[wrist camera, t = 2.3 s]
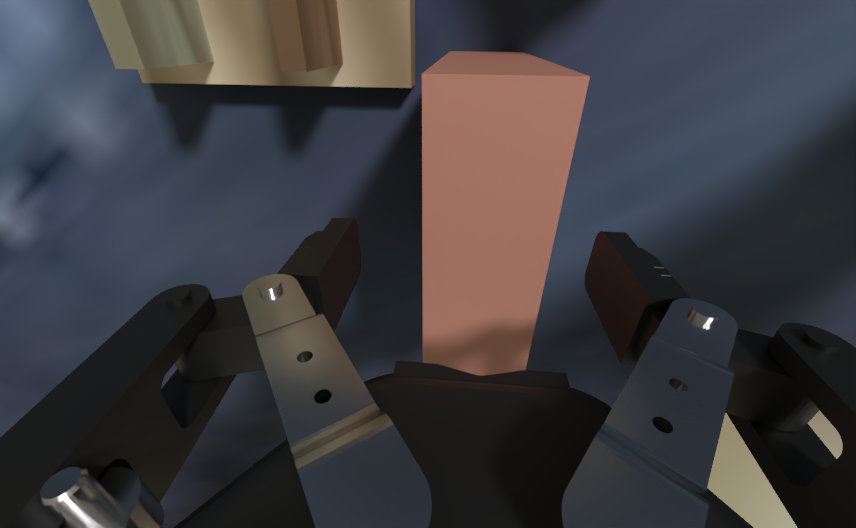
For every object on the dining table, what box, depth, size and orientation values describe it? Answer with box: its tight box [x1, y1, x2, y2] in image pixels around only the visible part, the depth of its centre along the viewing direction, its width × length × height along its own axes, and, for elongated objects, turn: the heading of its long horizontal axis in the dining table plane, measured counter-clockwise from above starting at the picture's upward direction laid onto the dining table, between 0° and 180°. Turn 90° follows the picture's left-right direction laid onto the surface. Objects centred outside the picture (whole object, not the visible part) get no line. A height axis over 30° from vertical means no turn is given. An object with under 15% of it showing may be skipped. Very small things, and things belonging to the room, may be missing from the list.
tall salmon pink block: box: [422, 51, 590, 376], centre depth 16 cm, size 4×11×12 cm, turn 0°
